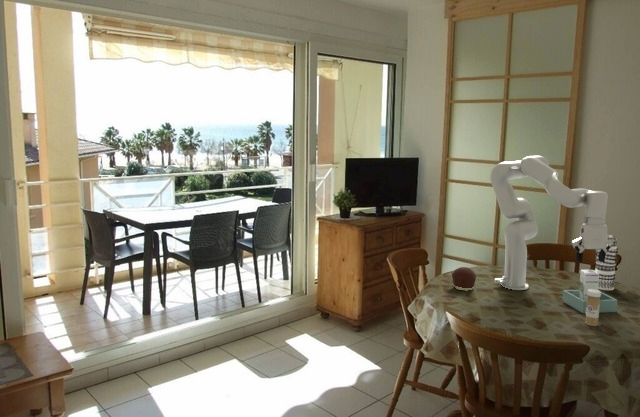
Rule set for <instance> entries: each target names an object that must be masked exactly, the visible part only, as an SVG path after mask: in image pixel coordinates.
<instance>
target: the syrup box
mask: <svg viewBox="0 0 640 417" xmlns="http://www.w3.org/2000/svg"><path fill="white" fill-rule="evenodd" d="M598 287H599V273H597V272H596V269H595V270H594V269H580V274H579V289H578V290H579V298H580V299H582V300H584V301H587V290H588V289H596V290H599V289H598Z"/></svg>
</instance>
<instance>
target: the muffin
mask: <svg viewBox="0 0 640 417" xmlns="http://www.w3.org/2000/svg"><path fill="white" fill-rule="evenodd" d="M451 277H452V284H454V285H455V286H458V287H462V288H472V287H473V286H474V287H475V284H476V278H477V274H476V273H475V272H474V270H473V269H471V268H470V267H466V266H461V267H457V268H456V269H454V270H453V272H452V273H451Z"/></svg>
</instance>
